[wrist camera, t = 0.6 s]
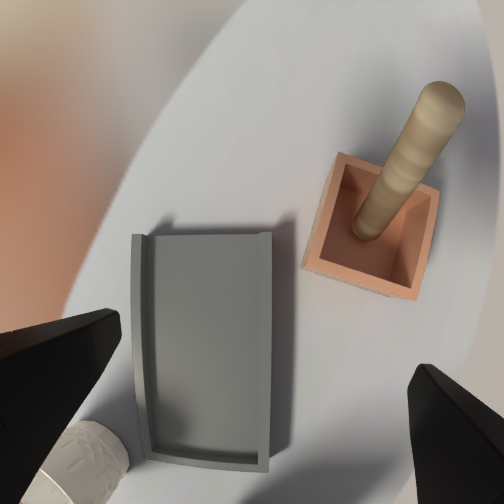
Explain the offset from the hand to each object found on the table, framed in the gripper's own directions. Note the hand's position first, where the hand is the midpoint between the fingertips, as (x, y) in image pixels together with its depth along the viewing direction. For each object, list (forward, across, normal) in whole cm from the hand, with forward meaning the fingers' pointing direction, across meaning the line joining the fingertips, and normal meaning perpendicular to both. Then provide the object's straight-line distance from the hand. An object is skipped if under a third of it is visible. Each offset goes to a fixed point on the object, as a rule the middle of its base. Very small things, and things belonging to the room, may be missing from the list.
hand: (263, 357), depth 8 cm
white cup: (+6, +14, +21) cm, 26 cm away
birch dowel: (+16, -5, -3) cm, 17 cm away
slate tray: (+11, +5, +10) cm, 16 cm away
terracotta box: (+16, -5, 0) cm, 16 cm away
